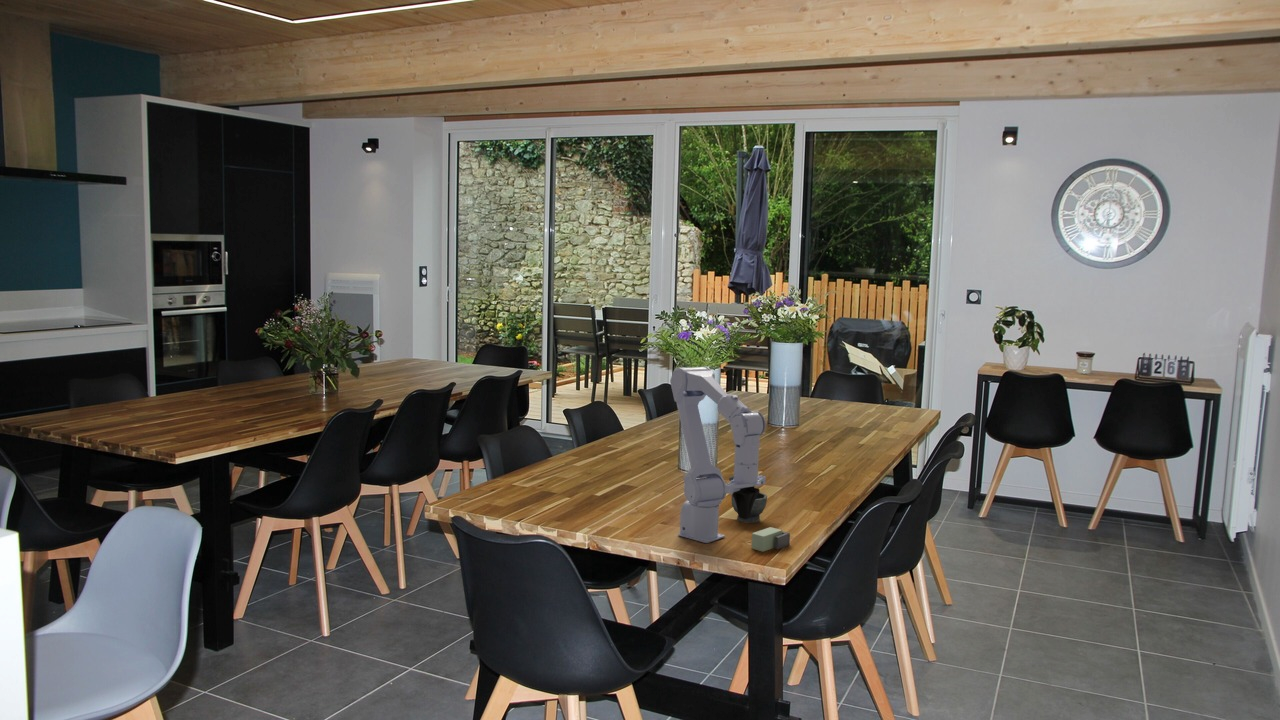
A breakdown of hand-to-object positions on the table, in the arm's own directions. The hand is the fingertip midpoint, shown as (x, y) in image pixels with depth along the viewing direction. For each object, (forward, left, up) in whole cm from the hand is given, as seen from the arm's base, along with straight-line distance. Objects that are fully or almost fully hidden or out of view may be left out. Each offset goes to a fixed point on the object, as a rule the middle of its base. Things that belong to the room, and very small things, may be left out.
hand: (743, 517), depth 226 cm
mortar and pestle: (-18, +27, -10) cm, 34 cm away
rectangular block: (0, +11, -10) cm, 14 cm away
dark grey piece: (0, +13, -9) cm, 16 cm away
